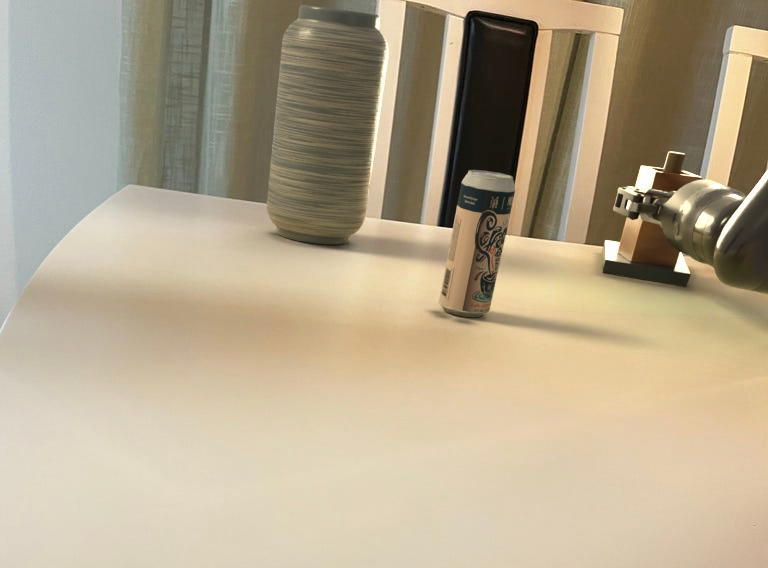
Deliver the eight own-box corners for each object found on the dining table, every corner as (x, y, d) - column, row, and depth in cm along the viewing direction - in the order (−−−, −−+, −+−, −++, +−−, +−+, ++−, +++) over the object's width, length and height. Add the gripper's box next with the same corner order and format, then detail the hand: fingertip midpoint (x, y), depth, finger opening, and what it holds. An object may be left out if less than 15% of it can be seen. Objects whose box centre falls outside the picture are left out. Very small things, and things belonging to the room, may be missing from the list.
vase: (306, 249, 112) (335, 8, 100) (244, 227, 119) (264, -1, 107) (381, 246, 119) (416, 20, 107) (318, 225, 126) (344, 11, 114)
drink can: (476, 321, 92) (506, 180, 86) (429, 310, 94) (455, 170, 88) (495, 314, 96) (525, 177, 89) (450, 302, 98) (476, 168, 91)
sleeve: (660, 257, 126) (685, 171, 121) (675, 267, 121) (702, 177, 116) (617, 252, 126) (640, 165, 120) (630, 261, 121) (656, 171, 116)
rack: (678, 264, 133) (712, 152, 126) (686, 287, 119) (725, 162, 112) (602, 251, 134) (631, 140, 127) (602, 272, 121) (634, 149, 114)
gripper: (787, 193, 106) (728, 173, 119) (656, 177, 105) (612, 158, 118) (762, 267, 110) (707, 239, 123) (635, 252, 109) (595, 225, 122)
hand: (661, 199), depth 121 cm, fingers open, 8 cm apart
